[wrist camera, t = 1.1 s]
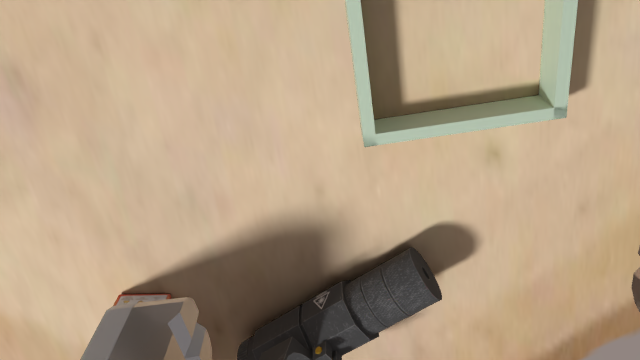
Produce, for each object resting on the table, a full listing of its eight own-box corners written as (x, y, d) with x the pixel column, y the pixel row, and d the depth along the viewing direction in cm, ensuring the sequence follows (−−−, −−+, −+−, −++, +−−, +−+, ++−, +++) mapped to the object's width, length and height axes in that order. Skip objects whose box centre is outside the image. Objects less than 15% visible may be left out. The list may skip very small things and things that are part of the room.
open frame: (341, -29, 35) (342, -24, 32) (563, -68, 33) (584, -67, 31) (361, 132, 41) (364, 147, 38) (550, 104, 40) (566, 117, 37)
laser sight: (443, 282, 49) (470, 360, 41) (279, 370, 56) (272, 453, 47) (393, 221, 46) (410, 292, 37) (223, 322, 52) (204, 403, 44)
